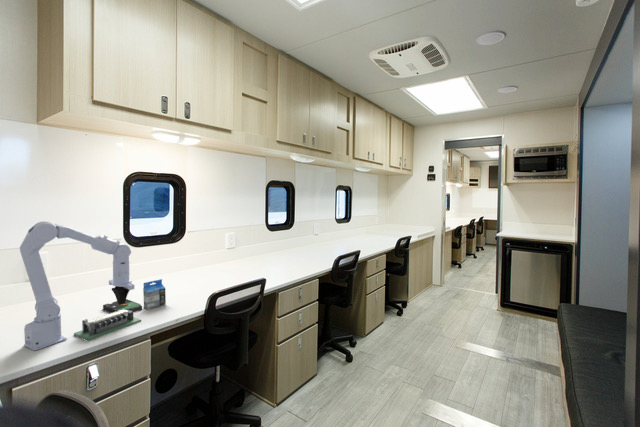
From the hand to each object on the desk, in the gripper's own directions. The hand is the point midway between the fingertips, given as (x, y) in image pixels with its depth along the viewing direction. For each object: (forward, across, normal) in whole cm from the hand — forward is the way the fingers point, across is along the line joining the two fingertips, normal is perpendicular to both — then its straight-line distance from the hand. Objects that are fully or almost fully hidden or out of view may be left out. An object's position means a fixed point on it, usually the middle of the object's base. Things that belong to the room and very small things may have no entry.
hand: (121, 303), depth 125 cm
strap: (+5, 0, +6) cm, 8 cm away
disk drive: (+9, +15, -9) cm, 20 cm away
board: (+8, 0, +5) cm, 10 cm away
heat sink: (+8, 0, +7) cm, 10 cm away
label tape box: (+9, +6, -19) cm, 22 cm away
